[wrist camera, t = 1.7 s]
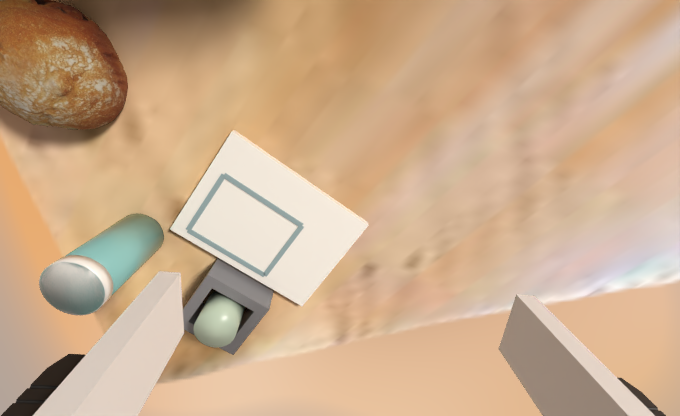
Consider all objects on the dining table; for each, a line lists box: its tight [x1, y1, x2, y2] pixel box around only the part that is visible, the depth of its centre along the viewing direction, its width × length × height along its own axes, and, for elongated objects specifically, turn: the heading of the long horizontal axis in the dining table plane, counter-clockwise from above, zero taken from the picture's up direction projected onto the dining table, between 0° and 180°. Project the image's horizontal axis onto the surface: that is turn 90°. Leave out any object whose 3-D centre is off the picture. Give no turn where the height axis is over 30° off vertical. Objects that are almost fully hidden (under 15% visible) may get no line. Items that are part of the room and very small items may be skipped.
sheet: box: [170, 130, 368, 306], centre depth 35 cm, size 16×12×1 cm
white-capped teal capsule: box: [39, 214, 164, 315], centre depth 30 cm, size 4×4×11 cm
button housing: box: [183, 258, 274, 355], centre depth 36 cm, size 7×7×4 cm
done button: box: [193, 291, 245, 347], centre depth 34 cm, size 4×4×4 cm
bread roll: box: [0, 0, 128, 130], centre depth 28 cm, size 10×10×8 cm
